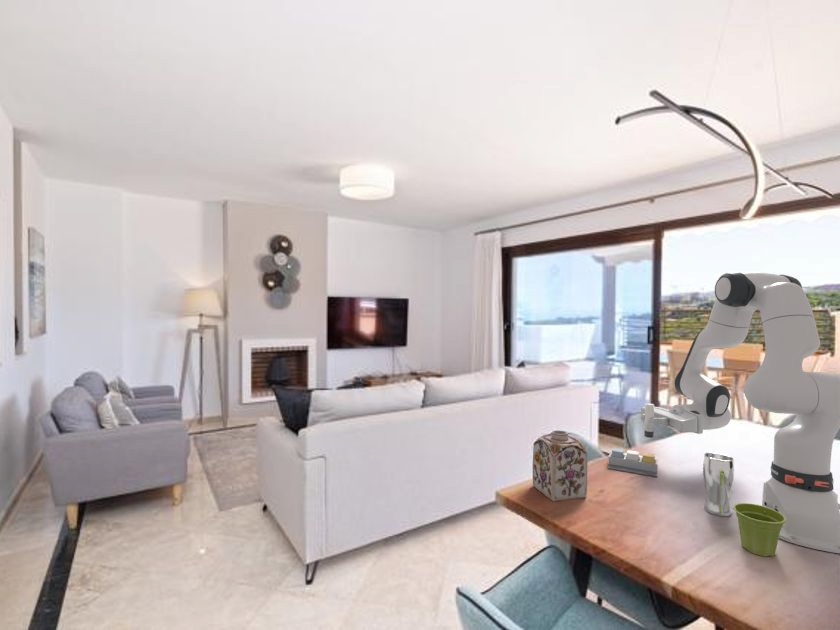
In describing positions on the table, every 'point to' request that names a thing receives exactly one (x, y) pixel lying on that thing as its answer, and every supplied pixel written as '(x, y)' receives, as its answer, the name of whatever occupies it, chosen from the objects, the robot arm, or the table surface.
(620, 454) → the key slate
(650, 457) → the key amber
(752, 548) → the plant pot
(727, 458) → the beer glass
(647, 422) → the white rounded cylinder
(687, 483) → the table surface
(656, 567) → the table surface
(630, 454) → the key white
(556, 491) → the decorative jar
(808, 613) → the table surface
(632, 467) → the keypad
